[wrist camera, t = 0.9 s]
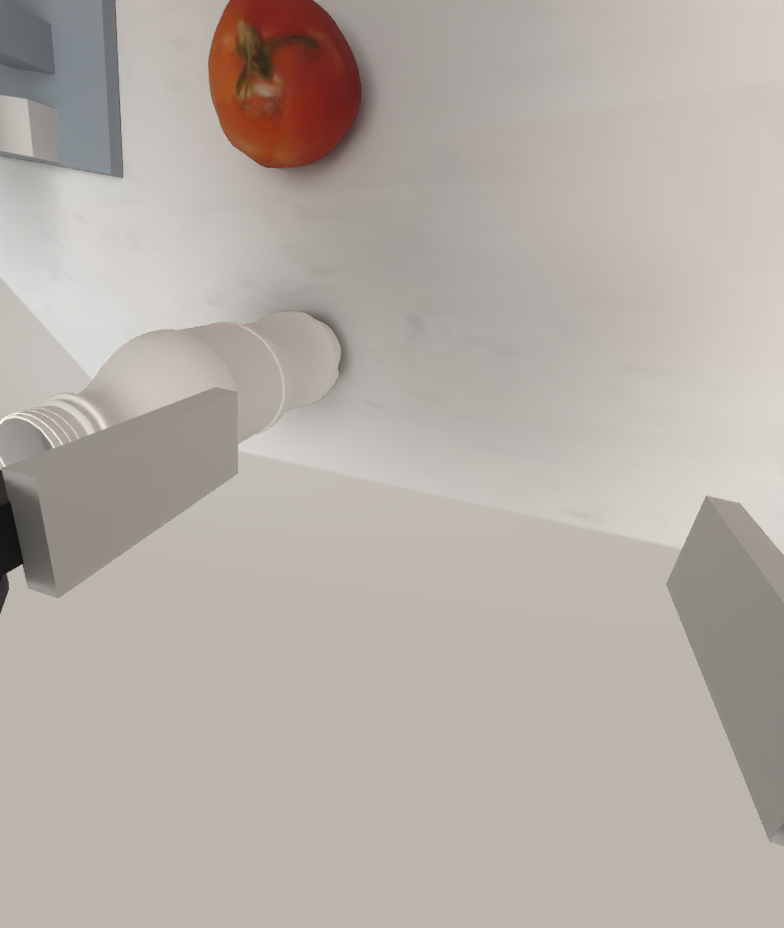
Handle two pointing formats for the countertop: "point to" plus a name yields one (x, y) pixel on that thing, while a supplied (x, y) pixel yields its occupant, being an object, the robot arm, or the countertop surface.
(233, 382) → the water bottle
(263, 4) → the tomato
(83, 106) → the frame
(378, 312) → the countertop surface
